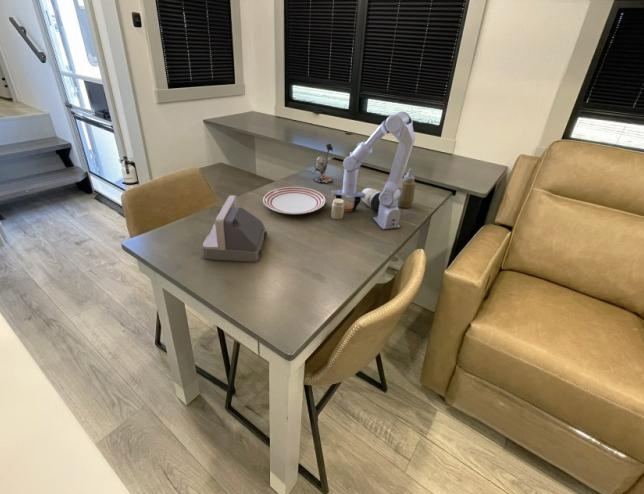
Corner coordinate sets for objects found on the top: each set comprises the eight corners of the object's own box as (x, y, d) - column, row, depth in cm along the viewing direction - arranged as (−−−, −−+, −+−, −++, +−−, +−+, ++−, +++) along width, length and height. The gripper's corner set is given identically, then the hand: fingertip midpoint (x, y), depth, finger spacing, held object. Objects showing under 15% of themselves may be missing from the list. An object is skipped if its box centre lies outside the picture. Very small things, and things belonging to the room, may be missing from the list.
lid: (341, 205, 149) (342, 202, 148) (354, 207, 148) (354, 204, 147) (339, 210, 144) (339, 207, 143) (352, 213, 143) (352, 209, 142)
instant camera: (222, 226, 127) (218, 190, 119) (274, 233, 124) (274, 197, 117) (195, 257, 108) (189, 217, 101) (255, 267, 106) (254, 227, 99)
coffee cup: (372, 206, 155) (387, 216, 141) (355, 201, 151) (370, 211, 138) (379, 188, 153) (395, 196, 139) (362, 183, 149) (378, 191, 136)
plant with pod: (319, 175, 180) (321, 138, 170) (334, 181, 173) (338, 144, 163) (308, 178, 175) (310, 141, 165) (324, 185, 168) (326, 146, 158)
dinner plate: (252, 213, 137) (252, 206, 135) (276, 188, 161) (276, 182, 159) (316, 224, 132) (316, 217, 131) (330, 197, 156) (331, 191, 154)
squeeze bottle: (410, 202, 157) (418, 166, 148) (413, 210, 150) (421, 172, 141) (393, 200, 157) (400, 164, 148) (395, 208, 150) (402, 171, 141)
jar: (345, 218, 138) (346, 202, 135) (333, 219, 137) (335, 204, 133) (340, 212, 143) (342, 197, 139) (329, 214, 141) (330, 198, 137)
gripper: (332, 185, 136) (330, 214, 143) (367, 188, 136) (363, 216, 143) (332, 179, 143) (330, 206, 149) (366, 181, 143) (362, 209, 149)
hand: (346, 211), depth 147 cm, fingers closed on lid, 5 cm apart
